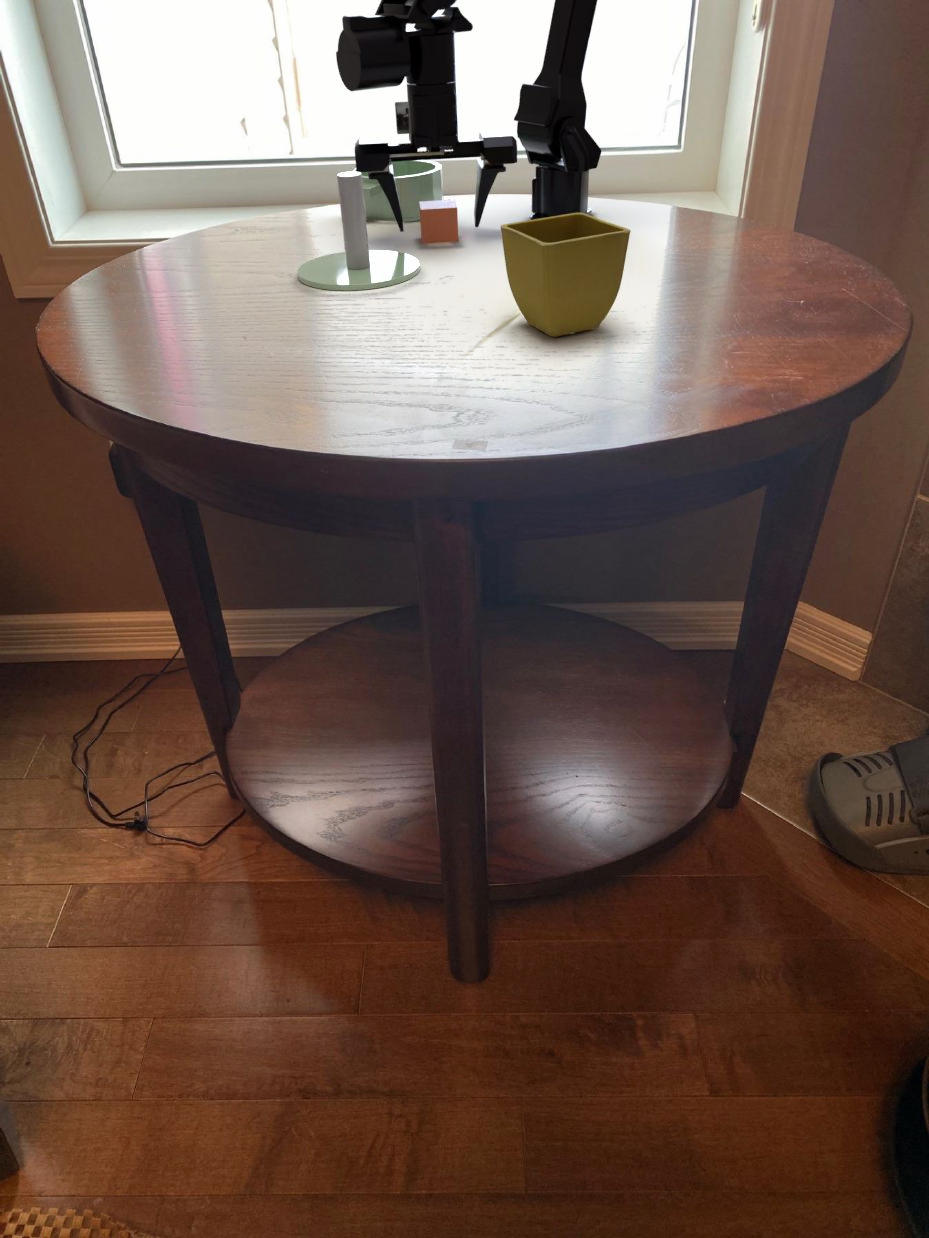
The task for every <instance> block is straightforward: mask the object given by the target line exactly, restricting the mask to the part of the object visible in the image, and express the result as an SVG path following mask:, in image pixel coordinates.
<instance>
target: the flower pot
mask: <svg viewBox="0 0 929 1238" xmlns="http://www.w3.org/2000/svg"><path fill="white" fill-rule="evenodd" d="M500 232H501V241H502V249H503V256H504V263H505V268H506V269H505V270H506V276H507V281H508V285H509V289H510V291H511V294H512V296H513V299H514V302H515V303H516V306H517V307H518V309H519V311H520V312H521V314H522V316H523V318H524V320H525V321H526V323H527V324H528V325H530V326H533V327H534V328H536V329H537V330H540V331H541V332H543V333H545V334H546V335H547V336H549V337H554V338H555V337H560V336H565V335H570V334H575V333H579V332H583V331H590V330H595V329H598V328H599V326H600V325H601V324H602V322H603V321H604V320H605V319H606V317H607V316H608V314H609V313H610V311H611V309H612V307H613V305H614V303H615V301H616V299H617V297H618V294H619V291H620V289H621V285H622V280H623V275H624V271H625V265H626V258H627V254H628V253H627V252H628V247H629V241H630V235H631V229H629V228H627V227H625V226H621V225H617V224H615V223H612V222H609V221H606V220H603V219H600V218H598V217H595V216H593V215H591V214H589V215H588V214H584V213H572V214H566V215H560V216H554V217H548V218H541V219H535V220H530V219H529V220H523V221H516V222H510V223H504V224H500Z"/></svg>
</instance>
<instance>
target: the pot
mask: <svg viewBox="0 0 929 1238" xmlns="http://www.w3.org/2000/svg"><path fill="white" fill-rule="evenodd" d="M391 164H392V166H393V171H394V176H395V182H396V187H397V192H398V197H399V202H400V207H401V212H402V217H403V223H410V222H411V223H412V222H417V221H420V211H419V202H421V201H438V200H444V183H443V181H444V180H443V179H444V178H443V165H442V164H440V163H439V162H437V161H433V160H416V161H398V162H391ZM347 172H357V171H356V165H355V166H353V167H350V168H349V170H348V171H347ZM360 173H361V174H362V184H363V194H364V204H365V215H366V220H370V221H382V222H396V223H397V221H396V219H395V216H394V214H393V211H392V209H391V206H390V203H389V201H388V199H387V197H386V195H385V193H384V192H383V190H382V188H381V186H380V184H379V182H378V181H377V180H370V179H369V178H368V172H360Z"/></svg>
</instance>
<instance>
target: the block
mask: <svg viewBox="0 0 929 1238" xmlns="http://www.w3.org/2000/svg"><path fill="white" fill-rule="evenodd" d="M419 211H420V220H419V223H420V225H419V226H420V237H421V242H422V244H440V243H456V242H457V243H458V242H459V218H458V207H457V204H456V200H455V199H443V200H438V201H421V202H419Z"/></svg>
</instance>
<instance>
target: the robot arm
mask: <svg viewBox="0 0 929 1238" xmlns="http://www.w3.org/2000/svg"><path fill="white" fill-rule="evenodd" d="M457 1H458V0H380V2H379V4H378V7H377V10H376V11H375V14H374V15H367V16H366V15H365V16H364V15H352V14H351V15H350V14H349V15H343V16H342V18H341V21H342V31H341V32H340V34H339V37H338V41H337V51H336V52H335V56H336V57H335V58H336V65H337V70H338V72H339V73H338V74H339V76H340V79H341V81H342V83H343V86H345V88H346V89H347V90H348V91H349V92H358V91H366V90H367V91H368V90H375V89H384V88H391V87H392V88H393V87H398V86H401V85H402V84H403V82H404V80H405V79H406V96H407V101H396V102H394V110H395V123H396V133H397V135H408V141H409V143H390V144H389V137H388V136H371V137H370V136H369V137H359V138H358V139H357V141H356V142H355V144H354V160H355V166H356V171H357V172H368V178H369V179H370V180H377V181H378V182H379V184H380V186H381V188H382V190H383V192H384V193H385V195H386V197H387V199H388V201H389V203H390V206H391V209H392V211H393V214H394V216H395V219H396V221H397V222H396V224H397V227H398V230H399V232H402V233H404V222H403V217H402V212H401V207H400V202H399V197H398V192H397V187H396V182H395V176H394V171H393V166H392V164H391V162H398V161H416V160H426V161H433V160H447V159H449V160H450V159H464V158H465V159H466V158H477V159H476V182H475V196H474V206H473V207H474V208H473V219H474V228H479V227H480V223H481V220H482V217H483V214H484V210H485V208H486V204H487V200H488V198H489V194H490V192H491V190H492V187H493V185H494V183H495V181H496V179H497V176H498V174H499V173H505V172H507V165H513V164H516V163H518V141H517V139H516V138H515V137H514V135H513V134H512V133H511V132H510V131H509V129H497V130H496V129H495V130H480V131H479V132H478V139H461V140H460V126H459V125H460V123H459V122H460V121H459V94H458V70H457V69H458V67H457V42H456V41H457V39H456V38H457V37H456V34H457V33H465V32H471V31H473V28H474V25H473V23H472V22H470V21H469V19H468V18H467V17H466V16H465V15H464V14H463V13H462V12H461V10H460V8H459V6H453V5H455V4H456V2H457ZM597 4H598V0H554V4H553V8H552V14H551V19H550V25H549V30H548V34H547V35H548V36H547V41H546V47H545V50H544V51H545V52H544V55H543V56H544V57H543V64H542V67H541V69H540V72H539V74H538V75H537V77H536V78H535V80H534V82H533V83H531V84H530V83H522V85H521V86H520V90H519V100H518V101H519V102H518V107H517V110H516V113H515V115H514V117H513V121H515V122H517V124H516V134H517V138H518V139H519V142H520V143H521V146H522V147H523V148H524V151H525V154H526V158H527V162H528V164H530V165H536V166H535V177H534V178H533V179H531V212H532V215H530V216H529V217H530V219H529V220H535V219H541V218H548V217H554V216H560V215H566V214H572V213H584V214H588V215H591V214H592V213H593V211H592V210H593V209H592V208H589V207H588V206H589V182H590V181H589V180H590V170H593V169H597V168H598V166H599V162H600V158H601V155H602V149H601V148H600V146H599V144H598V143H597V142H596V141H595V140H594V138H593V137H592V135H591V134H590V133H589V131H588V130H587V129H586V123H587V114H588V113H587V112H588V104H587V99H586V94H585V89H584V85H583V73H584V68H585V62H586V58H587V53H588V48H589V45H590V44H589V43H590V38H591V33H592V29H593V24H594V18H595V14H596V10H597V9H596V8H597ZM438 11H443V12H441V14H440V15H435V14H436V13H437V12H438ZM408 24H409V25H414V26H413V28H407V25H408ZM421 148H425V151H424V150H422V151H421V150H419V149H421ZM418 150H419V151H418ZM478 158H479V159H478Z"/></svg>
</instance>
